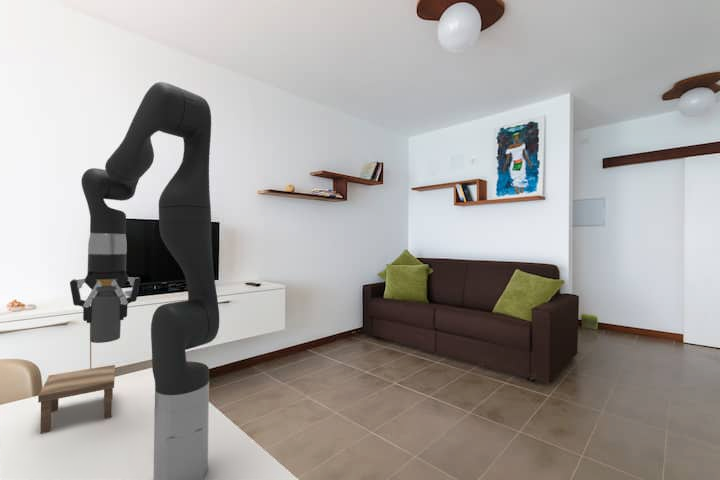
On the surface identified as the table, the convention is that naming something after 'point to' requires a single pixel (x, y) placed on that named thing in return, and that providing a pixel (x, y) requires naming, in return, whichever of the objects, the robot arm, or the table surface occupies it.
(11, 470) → the table surface
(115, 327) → the bottle
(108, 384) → the wooden bench
